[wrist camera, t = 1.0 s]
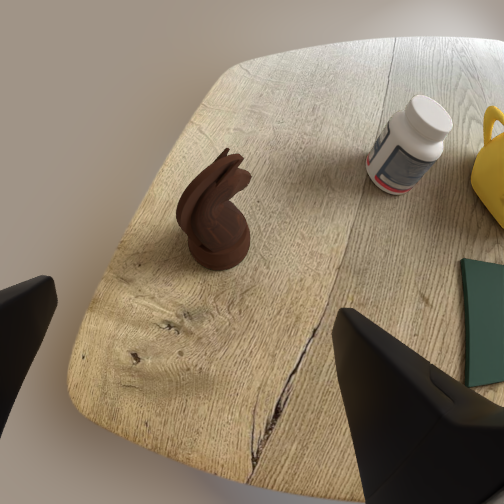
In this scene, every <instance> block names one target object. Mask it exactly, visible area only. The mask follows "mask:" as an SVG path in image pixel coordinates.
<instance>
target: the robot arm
mask: <svg viewBox="0 0 504 504" xmlns="http://www.w3.org/2000/svg"><path fill="white" fill-rule="evenodd" d="M57 301H58V300H57V294H56V289H55V284H54V280H53V278H52V277H50V276H44V275H41V276H38V277H35V278H32V279H30V280H27V281H24V282H22V283H19V284H16V285H14V286H11V287H8V288H6V289H3V290H1V291H0V438H1V435H2V432H3V429H4V427H5V424H6V422H7V419H8V416H9V413H10V411H11V409H12V406H13V404H14V402H15V399H16V397H17V395H18V392H19V390H20V388H21V386H22V383H23V381H24V379H25V377H26V375H27V372H28V370H29V368H30V366H31V364H32V362H33V360H34V358H35V356H36V354H37V351H38V350H39V348H40V346H41V343H42V341H43V339H44V336H45V333H46V331H47V329H48V326H49V324H50V321H51V319H52V317H53V314H54V312H55V309H56V307H57V303H58V302H57ZM332 340H333V347H334V355H335V363H336V371H337V377H338V382H339V386H340V390H341V394H342V398H343V402H344V406H345V410H346V415H347V419H348V423H349V427H350V432H351V436H352V440H353V445H354V449H355V454H356V458H357V463H358V468H359V472H360V477H361V482H362V487H363V492H364V497H365V500H366V501H365V503H366V504H504V407H502V406H499V405H497V404H495V403H493V402H491V401H490V400H488V399H486V398H485V397H483V396H481V395H480V394H478V393H476V392H475V391H473V390H471V389H470V388H468V387H466V386H465V385H463V384H462V383H460V382H458V381H457V380H455V379H454V378H452V377H451V376H449V375H448V374H446V373H445V372H443V371H442V370H440V369H439V368H437V367H436V366H435V365H433V364H430V362H429V361H427V360H426V359H425V358H423V357H422V356H420V355H419V354H418V353H416V352H415V351H413V350H412V349H410V348H409V347H408V346H406V345H405V344H403V343H402V342H401V341H399V340H398V339H396V338H395V337H393V336H392V335H391V334H389V333H388V332H386V331H385V330H383V329H382V328H381V327H379V326H378V325H376V324H375V323H373V322H372V321H371V320H369V319H368V318H366V317H365V316H363V315H362V314H361V313H359V312H358V311H356V310H355V309H353V308H340V309H339V311H338V313H337V317H336V320H335V323H334V327H333V330H332Z"/></svg>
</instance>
